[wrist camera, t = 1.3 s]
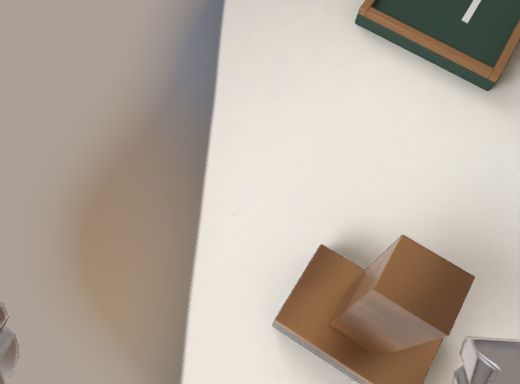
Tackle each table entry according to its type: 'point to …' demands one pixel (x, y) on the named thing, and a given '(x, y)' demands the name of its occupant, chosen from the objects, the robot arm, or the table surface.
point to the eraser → (376, 311)
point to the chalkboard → (450, 32)
